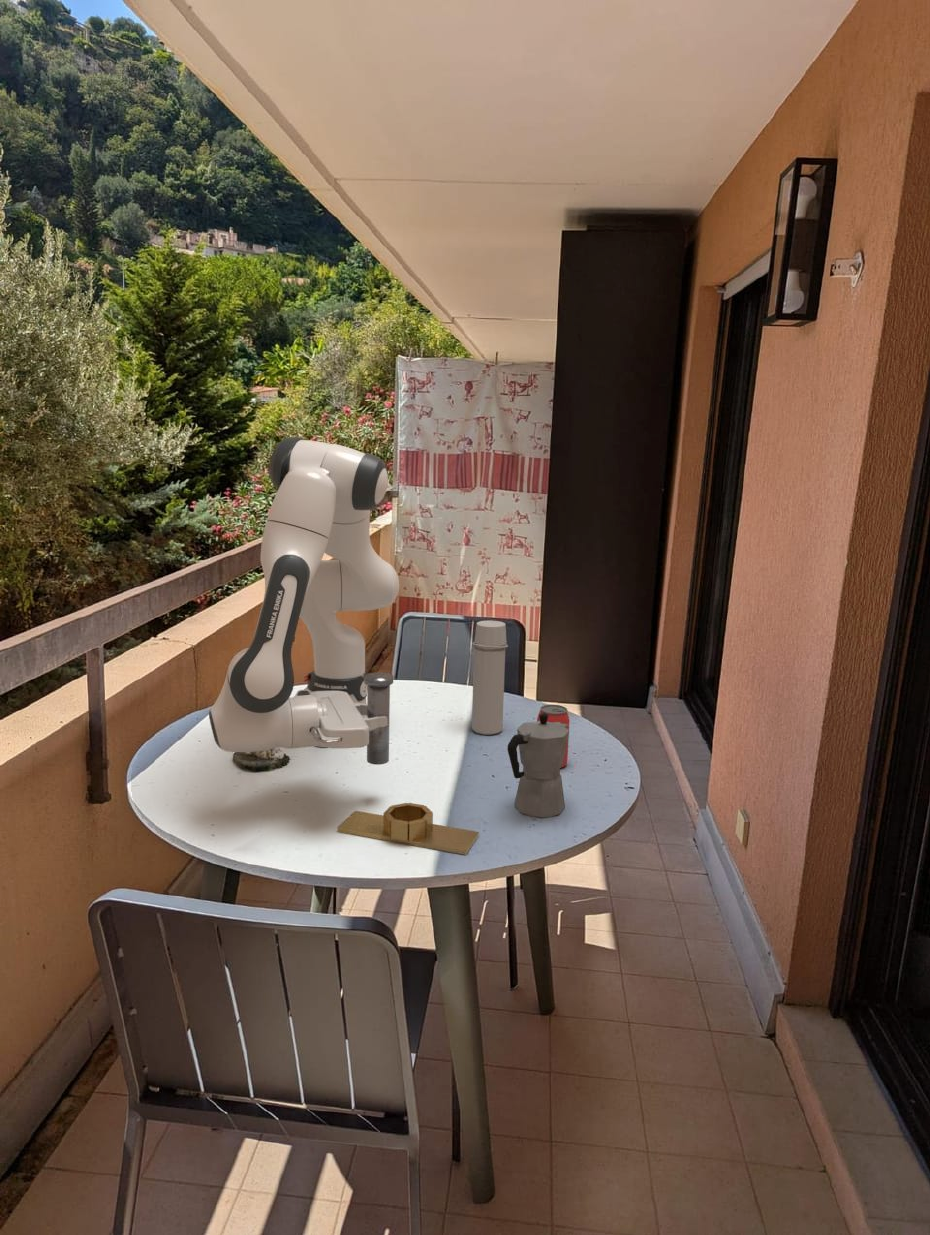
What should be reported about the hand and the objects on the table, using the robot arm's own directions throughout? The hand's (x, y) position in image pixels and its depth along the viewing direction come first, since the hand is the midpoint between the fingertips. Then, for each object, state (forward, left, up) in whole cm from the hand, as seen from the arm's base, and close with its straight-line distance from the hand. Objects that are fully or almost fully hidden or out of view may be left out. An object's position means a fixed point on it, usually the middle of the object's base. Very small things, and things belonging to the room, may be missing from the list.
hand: (383, 715), depth 157 cm
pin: (-1, 0, -9) cm, 9 cm away
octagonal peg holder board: (+9, -11, -16) cm, 22 cm away
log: (-30, +8, -17) cm, 36 cm away
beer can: (+25, +28, -17) cm, 42 cm away
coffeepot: (+27, +6, -17) cm, 33 cm away
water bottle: (+7, +43, -17) cm, 47 cm away
